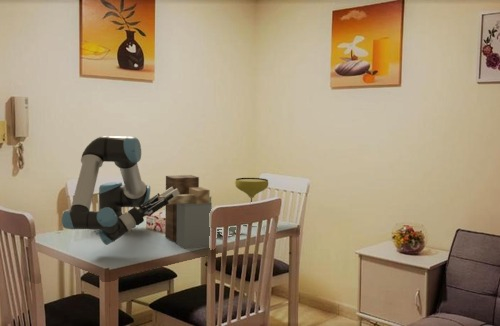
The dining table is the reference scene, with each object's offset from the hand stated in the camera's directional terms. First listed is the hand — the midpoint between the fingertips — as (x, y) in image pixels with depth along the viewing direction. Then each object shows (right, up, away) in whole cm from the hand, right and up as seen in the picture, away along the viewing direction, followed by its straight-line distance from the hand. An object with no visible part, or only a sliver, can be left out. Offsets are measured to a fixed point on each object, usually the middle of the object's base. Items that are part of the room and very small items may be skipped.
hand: (175, 190), depth 245 cm
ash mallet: (+3, -6, +2) cm, 7 cm away
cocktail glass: (+34, -22, +54) cm, 68 cm away
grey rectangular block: (+7, -26, +7) cm, 27 cm away
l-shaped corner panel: (+22, -25, +28) cm, 44 cm away
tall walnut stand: (0, -24, +20) cm, 31 cm away
